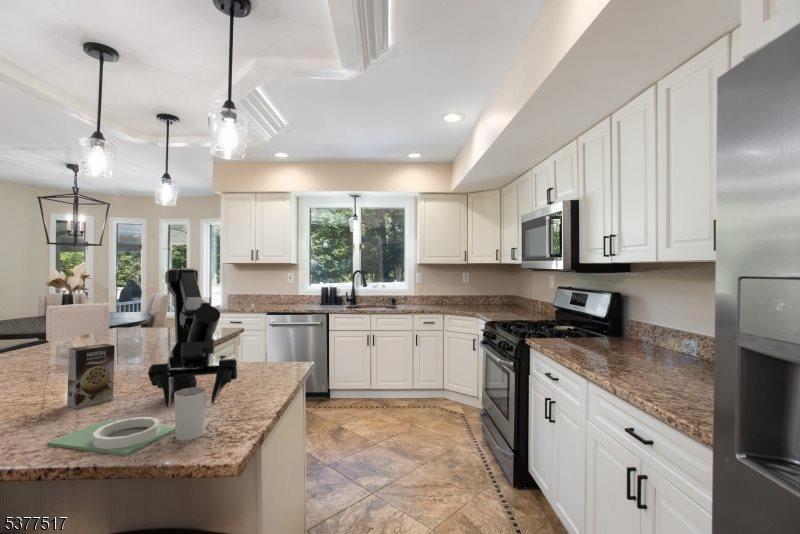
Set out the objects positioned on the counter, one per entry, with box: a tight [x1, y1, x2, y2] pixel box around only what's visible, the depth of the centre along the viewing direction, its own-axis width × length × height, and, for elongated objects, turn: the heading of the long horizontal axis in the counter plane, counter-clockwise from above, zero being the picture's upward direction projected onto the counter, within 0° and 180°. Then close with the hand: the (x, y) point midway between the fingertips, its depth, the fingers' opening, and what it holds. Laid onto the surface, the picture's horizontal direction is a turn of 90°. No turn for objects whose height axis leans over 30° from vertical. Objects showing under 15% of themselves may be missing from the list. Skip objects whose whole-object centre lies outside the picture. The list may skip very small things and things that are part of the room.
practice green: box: [46, 416, 176, 457], centre depth 86 cm, size 21×13×3 cm, turn 77°
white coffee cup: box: [173, 386, 208, 441], centre depth 87 cm, size 7×7×10 cm
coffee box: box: [66, 343, 116, 410], centre depth 109 cm, size 9×6×16 cm
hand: (190, 404), depth 87 cm, fingers open, 9 cm apart
